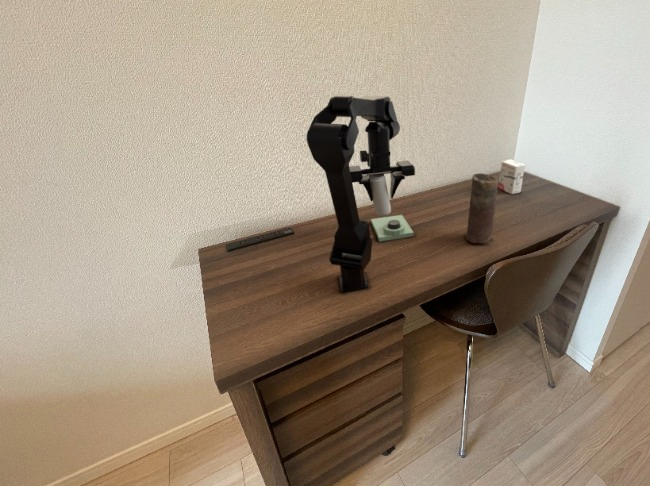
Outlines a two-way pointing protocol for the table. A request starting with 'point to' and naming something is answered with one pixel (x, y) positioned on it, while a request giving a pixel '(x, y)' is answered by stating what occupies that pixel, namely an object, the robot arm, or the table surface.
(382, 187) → the beverage can
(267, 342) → the table surface
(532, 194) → the table surface
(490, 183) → the candle
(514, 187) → the ink box
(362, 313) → the table surface
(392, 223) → the button
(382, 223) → the pale green flat piece
